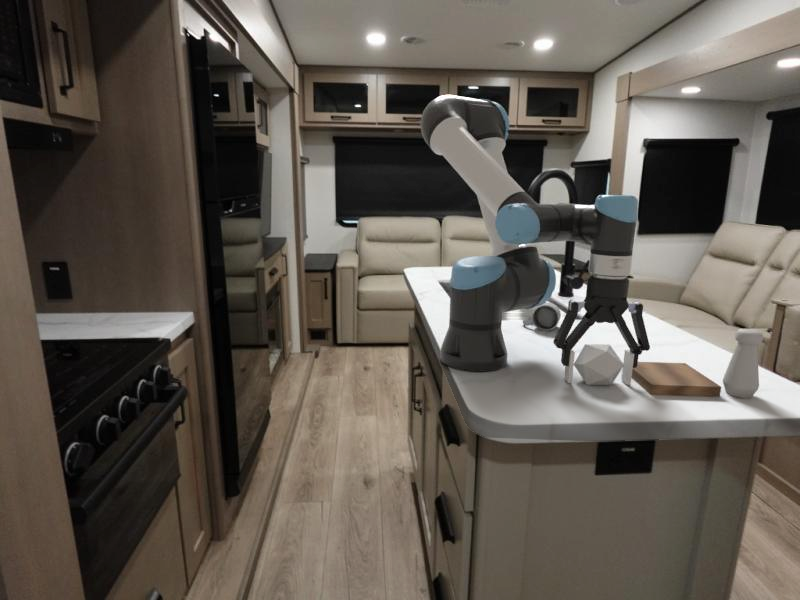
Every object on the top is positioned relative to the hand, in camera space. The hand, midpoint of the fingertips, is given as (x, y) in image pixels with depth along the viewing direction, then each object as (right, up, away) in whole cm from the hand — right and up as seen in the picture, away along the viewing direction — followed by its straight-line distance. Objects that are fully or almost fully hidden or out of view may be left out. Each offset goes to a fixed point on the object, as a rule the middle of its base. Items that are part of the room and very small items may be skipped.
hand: (596, 381), depth 99 cm
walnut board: (+15, 0, +1) cm, 15 cm away
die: (0, 0, 0) cm, 0 cm away
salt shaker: (+26, -2, -5) cm, 26 cm away
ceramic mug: (0, +9, +40) cm, 41 cm away
